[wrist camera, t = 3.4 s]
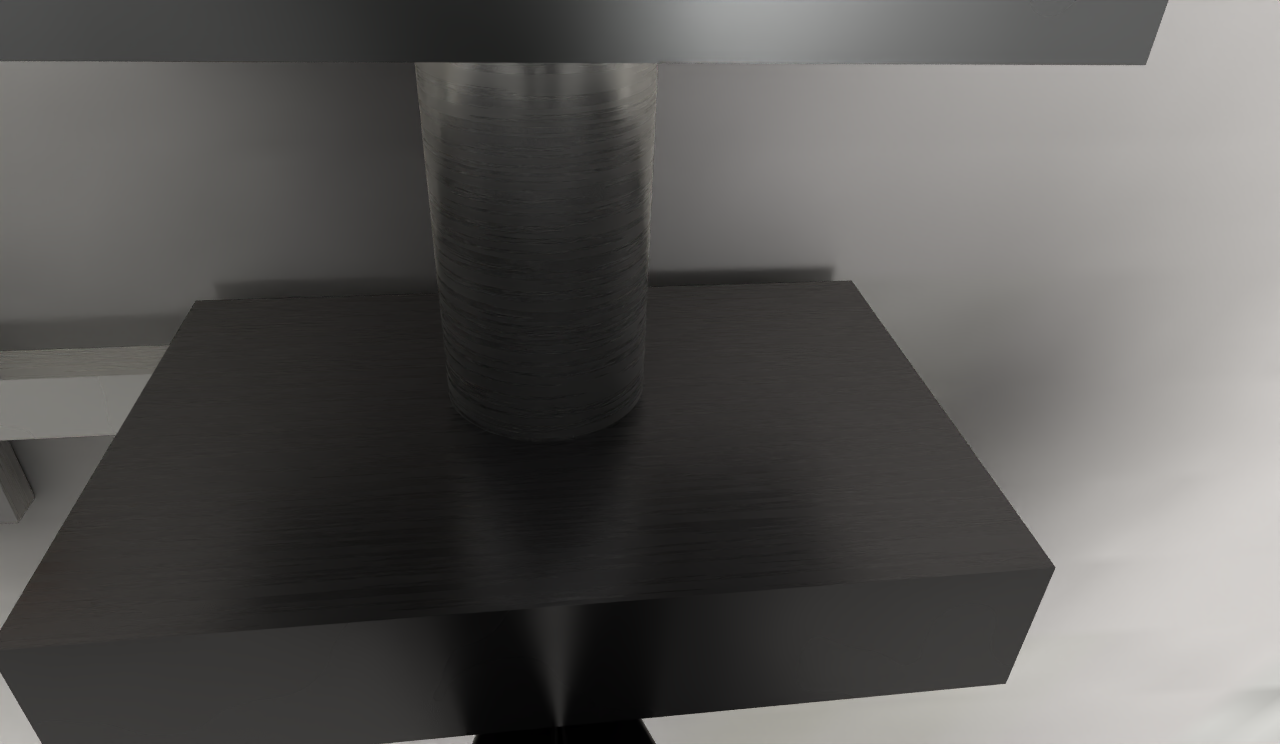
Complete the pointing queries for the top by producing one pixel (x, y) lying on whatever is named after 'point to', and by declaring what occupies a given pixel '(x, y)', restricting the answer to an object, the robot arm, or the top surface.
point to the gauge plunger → (508, 480)
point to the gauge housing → (570, 43)
